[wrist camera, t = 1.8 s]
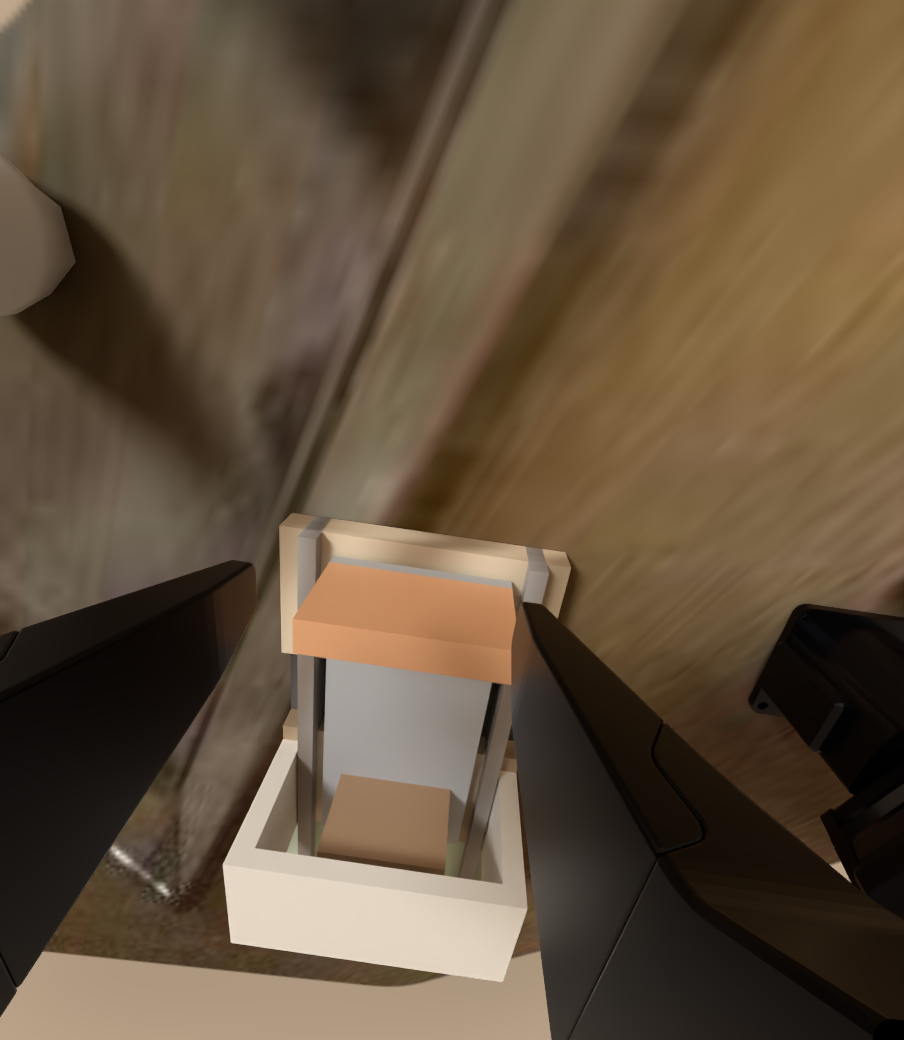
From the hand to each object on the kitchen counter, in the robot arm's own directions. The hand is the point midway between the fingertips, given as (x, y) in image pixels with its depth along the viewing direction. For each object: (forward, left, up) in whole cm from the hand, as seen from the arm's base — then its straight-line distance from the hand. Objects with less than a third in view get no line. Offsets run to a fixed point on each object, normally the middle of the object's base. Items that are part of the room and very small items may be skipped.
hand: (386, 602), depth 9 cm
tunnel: (0, +20, -11) cm, 23 cm away
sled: (0, +14, -10) cm, 17 cm away
